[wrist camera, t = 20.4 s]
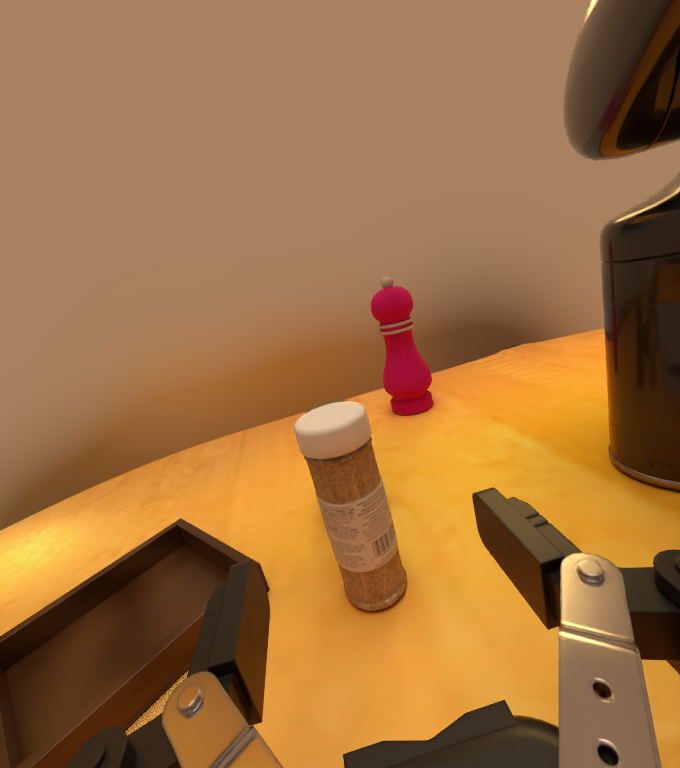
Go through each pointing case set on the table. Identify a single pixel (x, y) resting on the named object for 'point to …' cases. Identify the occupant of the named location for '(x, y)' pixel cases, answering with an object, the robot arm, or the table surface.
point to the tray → (107, 646)
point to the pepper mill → (401, 351)
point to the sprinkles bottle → (353, 502)
